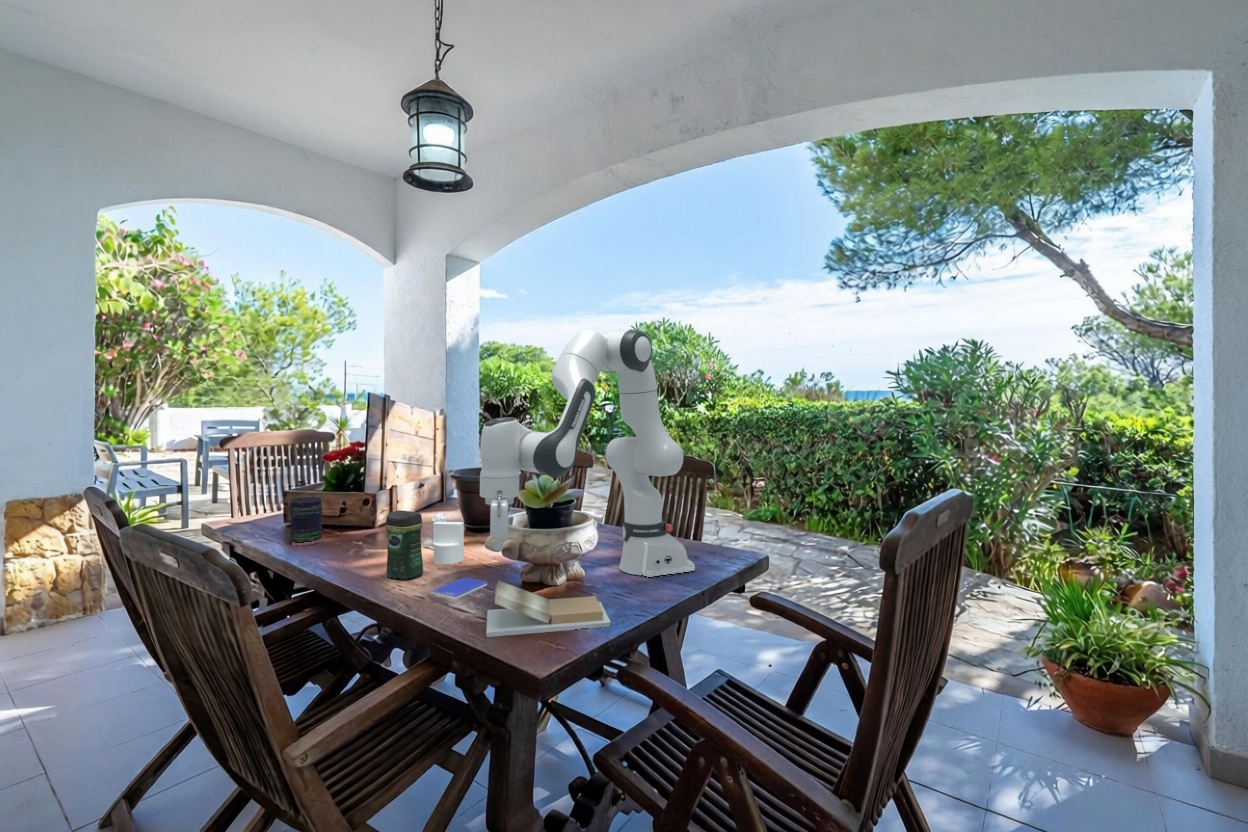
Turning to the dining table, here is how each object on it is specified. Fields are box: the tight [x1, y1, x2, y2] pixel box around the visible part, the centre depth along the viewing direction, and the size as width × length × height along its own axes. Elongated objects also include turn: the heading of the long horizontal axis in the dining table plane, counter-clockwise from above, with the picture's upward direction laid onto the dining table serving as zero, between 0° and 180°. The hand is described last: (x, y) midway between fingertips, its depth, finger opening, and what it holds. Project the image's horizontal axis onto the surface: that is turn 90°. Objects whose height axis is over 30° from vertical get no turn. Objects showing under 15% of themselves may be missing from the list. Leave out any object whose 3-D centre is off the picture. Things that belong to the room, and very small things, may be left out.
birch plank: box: [494, 580, 552, 623], centre depth 131 cm, size 13×10×2 cm
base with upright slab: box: [432, 521, 465, 564], centre depth 178 cm, size 9×9×12 cm
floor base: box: [485, 595, 612, 638], centre depth 132 cm, size 27×13×3 cm, turn 102°
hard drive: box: [430, 577, 488, 601], centre depth 152 cm, size 2×8×12 cm
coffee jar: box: [385, 510, 424, 580], centre depth 163 cm, size 10×8×19 cm
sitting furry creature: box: [422, 512, 450, 547], centre depth 193 cm, size 10×9×12 cm
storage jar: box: [289, 496, 323, 543], centre depth 199 cm, size 10×10×15 cm
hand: (498, 548), depth 132 cm, fingers closed
